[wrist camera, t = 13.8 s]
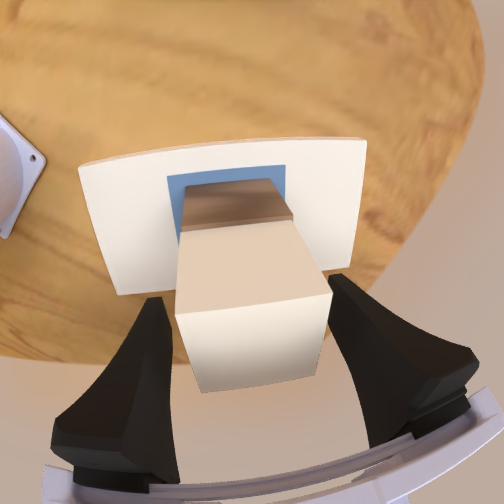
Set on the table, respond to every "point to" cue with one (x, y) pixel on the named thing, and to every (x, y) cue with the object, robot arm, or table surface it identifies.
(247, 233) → the cream block
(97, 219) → the board
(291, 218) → the walnut block
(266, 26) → the table surface
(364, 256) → the table surface
